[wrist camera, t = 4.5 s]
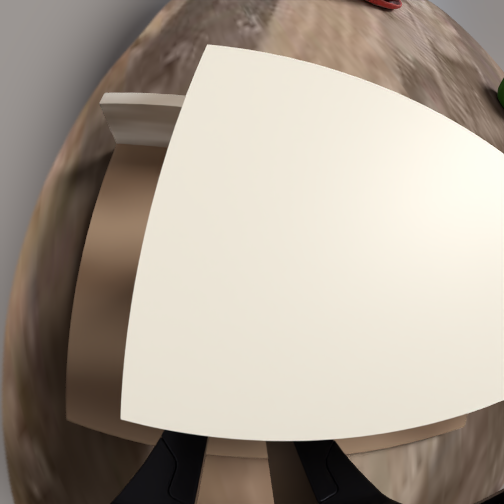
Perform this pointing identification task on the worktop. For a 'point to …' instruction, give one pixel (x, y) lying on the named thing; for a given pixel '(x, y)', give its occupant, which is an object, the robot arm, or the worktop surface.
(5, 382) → the worktop surface
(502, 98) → the bell pepper
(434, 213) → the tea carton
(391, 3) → the plant pot
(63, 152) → the worktop surface
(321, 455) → the robot arm
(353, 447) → the shelf board
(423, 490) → the worktop surface
